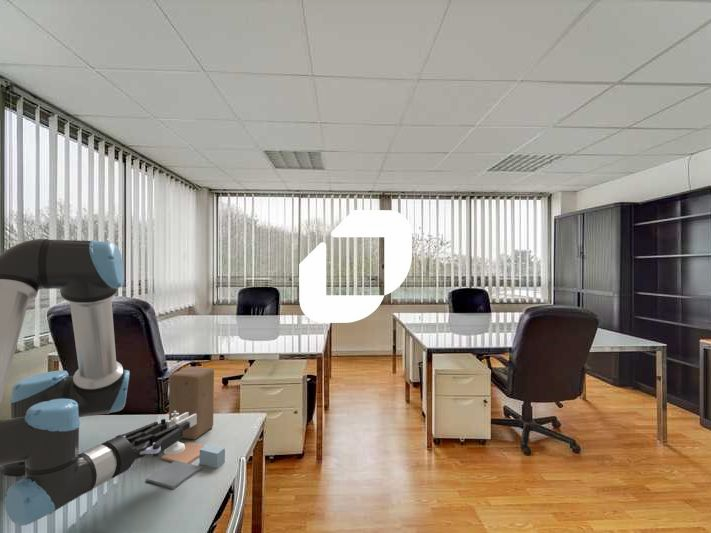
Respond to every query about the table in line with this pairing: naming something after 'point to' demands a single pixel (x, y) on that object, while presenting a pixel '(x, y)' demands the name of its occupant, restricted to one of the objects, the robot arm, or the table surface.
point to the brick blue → (212, 456)
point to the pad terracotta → (185, 453)
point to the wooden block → (193, 398)
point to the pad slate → (173, 474)
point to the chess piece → (177, 446)
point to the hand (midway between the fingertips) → (191, 418)
